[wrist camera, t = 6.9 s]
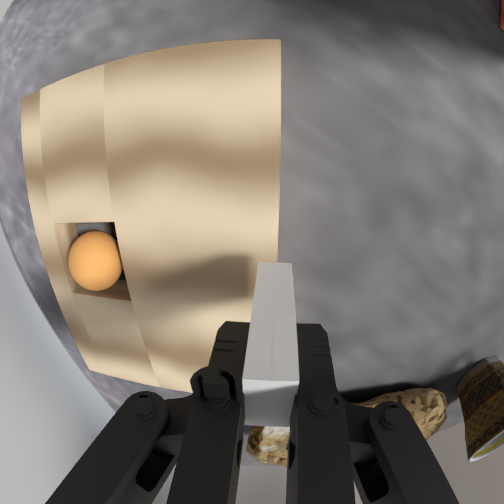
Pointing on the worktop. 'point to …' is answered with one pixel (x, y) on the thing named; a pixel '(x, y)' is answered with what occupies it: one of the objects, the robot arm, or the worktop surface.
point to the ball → (95, 260)
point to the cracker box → (502, 16)
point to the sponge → (415, 400)
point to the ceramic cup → (483, 407)
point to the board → (160, 198)
